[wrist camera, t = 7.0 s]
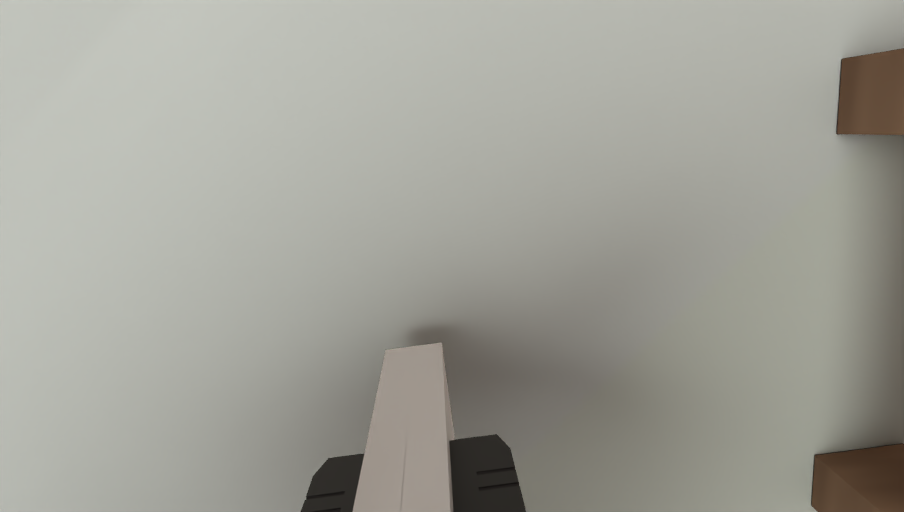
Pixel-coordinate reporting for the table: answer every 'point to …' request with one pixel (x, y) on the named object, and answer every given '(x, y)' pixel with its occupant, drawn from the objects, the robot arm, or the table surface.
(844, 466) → the bridge
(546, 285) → the table surface
